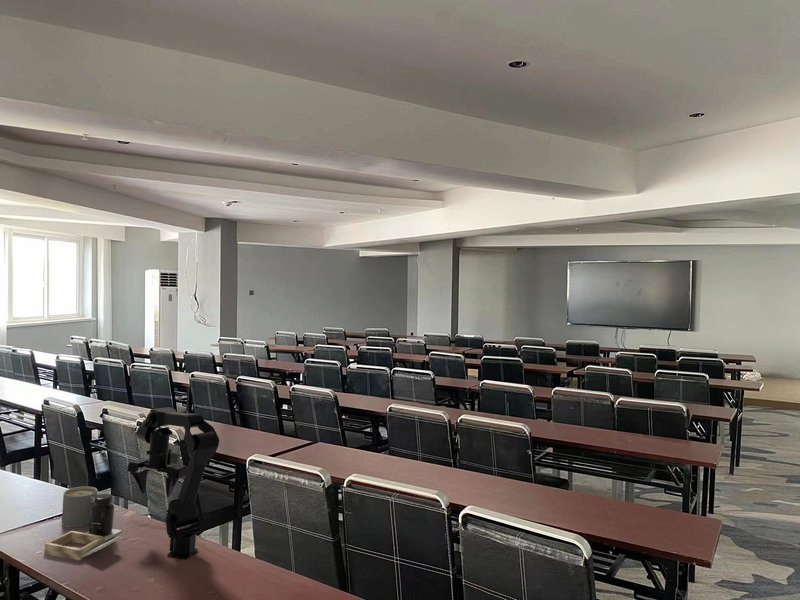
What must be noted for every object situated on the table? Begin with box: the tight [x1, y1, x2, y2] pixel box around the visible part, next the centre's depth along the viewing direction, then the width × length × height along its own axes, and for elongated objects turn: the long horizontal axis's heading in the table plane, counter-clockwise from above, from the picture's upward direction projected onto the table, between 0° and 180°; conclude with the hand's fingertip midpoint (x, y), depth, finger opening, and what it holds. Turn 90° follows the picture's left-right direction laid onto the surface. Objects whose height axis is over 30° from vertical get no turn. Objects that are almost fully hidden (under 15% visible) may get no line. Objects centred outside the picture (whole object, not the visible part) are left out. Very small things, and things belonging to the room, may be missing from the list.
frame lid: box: [81, 535, 123, 559], centre depth 170 cm, size 7×8×4 cm
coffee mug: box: [61, 486, 98, 528], centre depth 192 cm, size 13×10×10 cm
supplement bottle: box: [88, 493, 115, 537], centre depth 184 cm, size 7×7×12 cm
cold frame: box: [43, 530, 106, 561], centre depth 172 cm, size 12×10×3 cm
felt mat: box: [85, 528, 123, 542], centre depth 184 cm, size 9×9×1 cm
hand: (156, 494), depth 186 cm, fingers open, 9 cm apart
